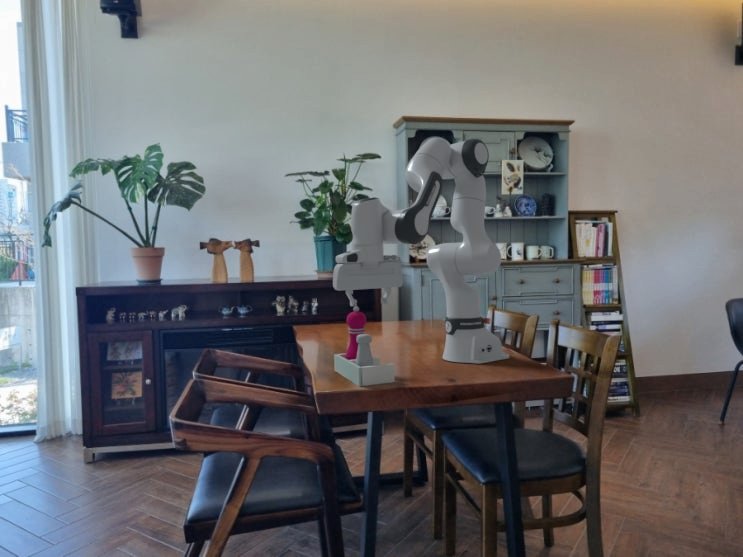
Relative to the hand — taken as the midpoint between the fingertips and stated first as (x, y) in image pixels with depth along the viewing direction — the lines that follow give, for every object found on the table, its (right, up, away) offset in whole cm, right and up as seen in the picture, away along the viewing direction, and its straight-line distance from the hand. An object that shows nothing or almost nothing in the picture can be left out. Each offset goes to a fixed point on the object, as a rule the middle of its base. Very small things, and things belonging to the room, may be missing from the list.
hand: (369, 305), depth 140 cm
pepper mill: (-4, -21, +10) cm, 24 cm away
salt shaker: (-1, -21, 0) cm, 21 cm away
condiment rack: (-2, -21, +5) cm, 22 cm away
